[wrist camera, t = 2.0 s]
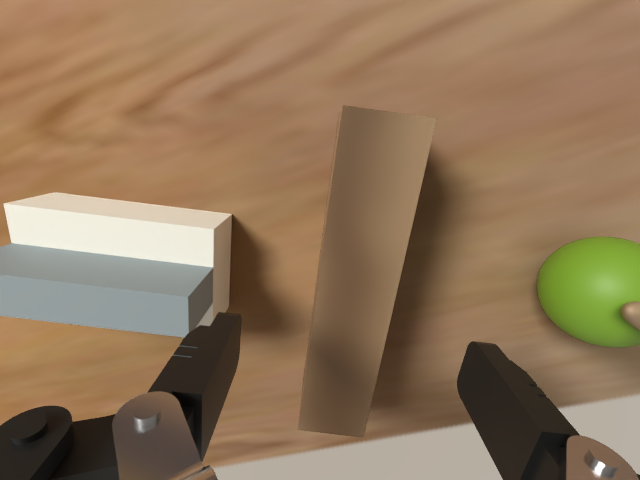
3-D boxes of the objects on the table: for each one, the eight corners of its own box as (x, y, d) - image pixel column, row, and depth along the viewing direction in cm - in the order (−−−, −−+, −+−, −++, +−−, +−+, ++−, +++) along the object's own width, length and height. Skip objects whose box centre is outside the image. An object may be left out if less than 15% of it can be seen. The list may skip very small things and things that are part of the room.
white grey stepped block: (231, 214, 18) (187, 251, 12) (228, 306, 20) (189, 375, 14) (55, 192, 18) (-72, 220, 12) (69, 287, 20) (-35, 349, 14)
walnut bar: (405, 122, 17) (436, 118, 12) (355, 370, 22) (363, 437, 17) (339, 113, 16) (343, 105, 12) (304, 364, 22) (298, 429, 17)
